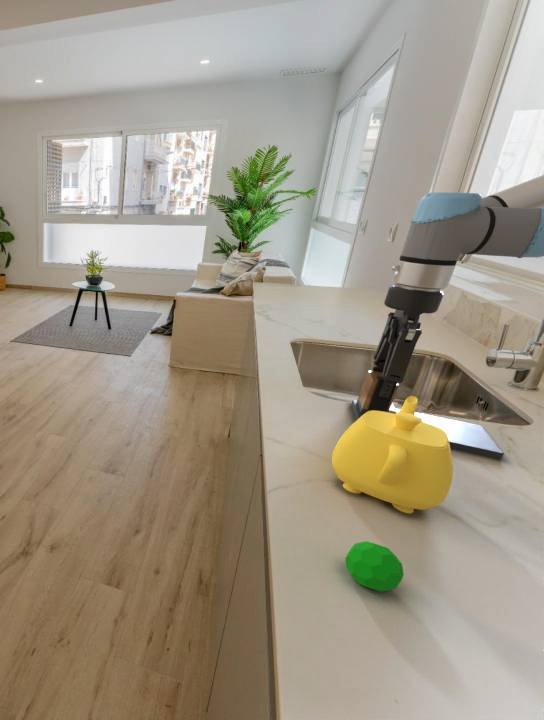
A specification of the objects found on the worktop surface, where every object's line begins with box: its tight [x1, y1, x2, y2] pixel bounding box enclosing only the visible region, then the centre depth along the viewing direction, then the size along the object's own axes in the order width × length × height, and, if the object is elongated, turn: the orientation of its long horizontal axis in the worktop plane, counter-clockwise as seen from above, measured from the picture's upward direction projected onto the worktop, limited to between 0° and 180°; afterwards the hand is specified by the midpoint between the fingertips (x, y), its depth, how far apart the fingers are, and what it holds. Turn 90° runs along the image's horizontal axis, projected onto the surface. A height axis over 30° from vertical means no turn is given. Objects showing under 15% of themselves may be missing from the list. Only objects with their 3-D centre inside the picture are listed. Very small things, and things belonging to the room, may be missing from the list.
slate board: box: [350, 399, 504, 461], centre depth 80 cm, size 20×11×2 cm, turn 61°
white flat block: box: [388, 403, 397, 414], centre depth 84 cm, size 2×4×1 cm, turn 151°
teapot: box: [331, 395, 454, 514], centre depth 61 cm, size 13×20×12 cm
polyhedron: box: [344, 540, 405, 592], centre depth 47 cm, size 5×5×5 cm
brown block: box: [356, 370, 400, 414], centre depth 83 cm, size 4×6×7 cm, turn 151°
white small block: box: [419, 417, 438, 427], centre depth 78 cm, size 2×4×1 cm, turn 151°
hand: (374, 403), depth 83 cm, fingers closed on brown block, 6 cm apart
